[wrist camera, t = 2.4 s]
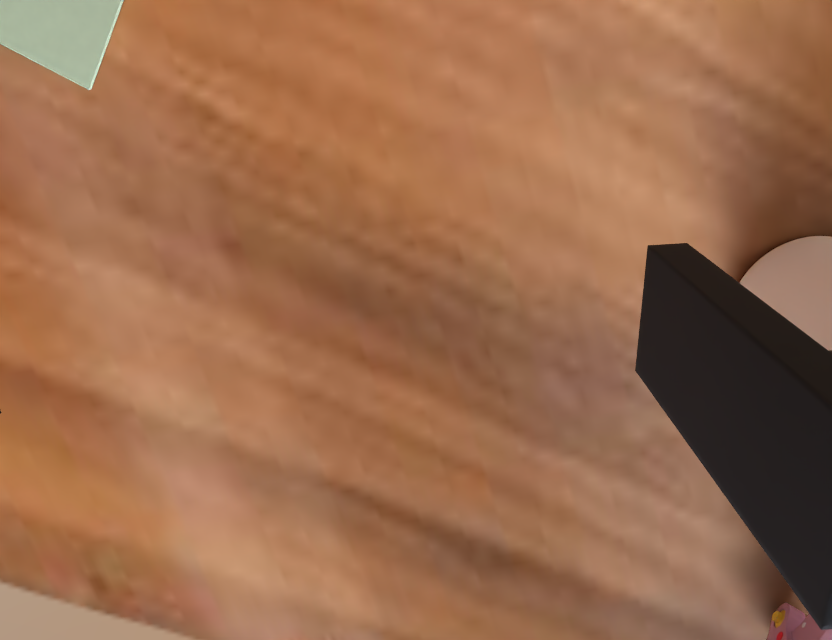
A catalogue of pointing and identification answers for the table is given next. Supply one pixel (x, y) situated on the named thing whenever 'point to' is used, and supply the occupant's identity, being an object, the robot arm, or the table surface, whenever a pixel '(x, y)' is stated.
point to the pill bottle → (798, 284)
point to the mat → (60, 34)
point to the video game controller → (795, 626)
